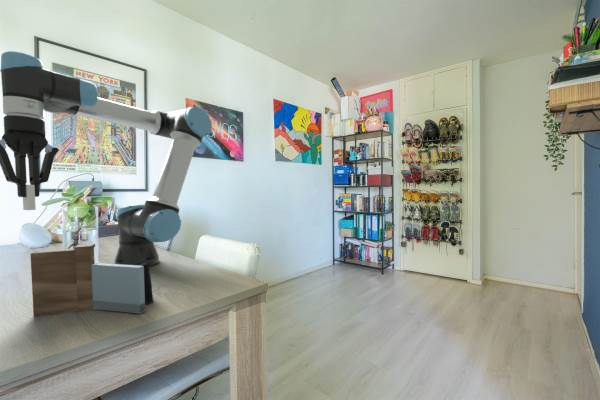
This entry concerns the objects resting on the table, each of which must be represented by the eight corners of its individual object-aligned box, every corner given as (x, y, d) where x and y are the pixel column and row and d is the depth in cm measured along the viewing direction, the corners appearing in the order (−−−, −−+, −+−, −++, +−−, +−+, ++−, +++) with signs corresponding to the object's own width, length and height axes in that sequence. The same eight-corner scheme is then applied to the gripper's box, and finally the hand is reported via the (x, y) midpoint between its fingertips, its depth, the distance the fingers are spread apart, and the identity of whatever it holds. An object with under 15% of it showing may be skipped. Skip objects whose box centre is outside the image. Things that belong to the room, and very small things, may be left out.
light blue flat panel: (93, 308, 68) (91, 264, 68) (98, 306, 70) (97, 262, 69) (140, 313, 66) (138, 267, 65) (145, 310, 67) (143, 265, 67)
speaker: (158, 302, 72) (153, 262, 72) (133, 310, 68) (128, 268, 68) (149, 297, 78) (145, 260, 77) (125, 304, 74) (121, 265, 73)
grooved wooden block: (39, 312, 67) (35, 247, 66) (97, 304, 72) (95, 243, 71) (32, 318, 64) (28, 250, 63) (93, 309, 69) (91, 246, 68)
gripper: (-6, 109, 63) (-1, 212, 65) (63, 121, 75) (67, 208, 76) (-19, 113, 67) (-13, 211, 68) (49, 124, 78) (53, 207, 80)
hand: (29, 209), depth 72 cm, fingers closed
